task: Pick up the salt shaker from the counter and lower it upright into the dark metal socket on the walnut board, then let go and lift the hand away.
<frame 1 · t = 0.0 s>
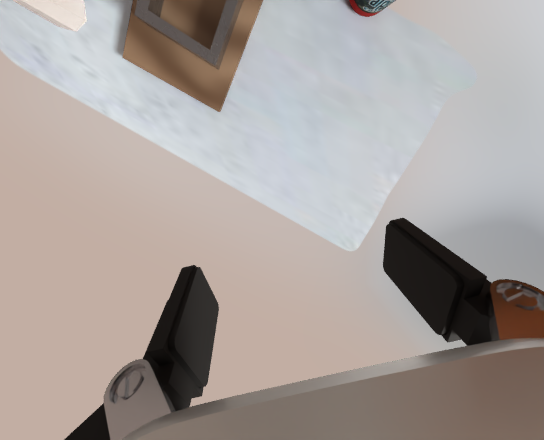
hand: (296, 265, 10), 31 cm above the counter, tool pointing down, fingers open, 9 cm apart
metal socket: (193, 0, 25), on the walnut board, point 3 cm above the counter
salt shaker: (65, 5, 27), on the counter
walnut board: (199, 11, 28), on the counter
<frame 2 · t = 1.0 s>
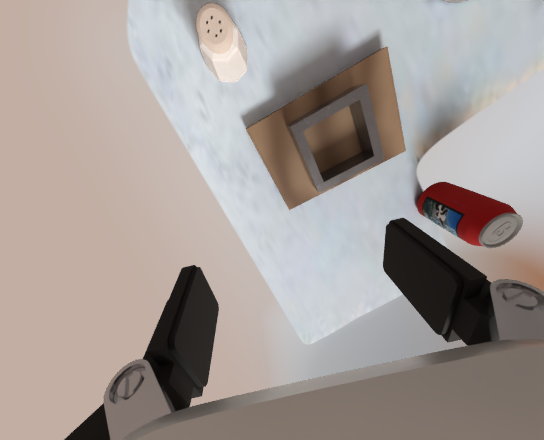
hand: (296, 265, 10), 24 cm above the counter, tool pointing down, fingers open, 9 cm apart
metal socket: (335, 142, 28), on the walnut board, point 3 cm above the counter
beverage can: (431, 197, 38), on the counter
salt shaker: (227, 58, 26), on the counter
walnut board: (327, 139, 31), on the counter
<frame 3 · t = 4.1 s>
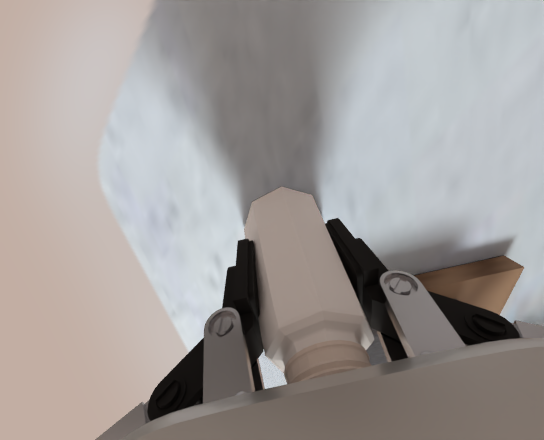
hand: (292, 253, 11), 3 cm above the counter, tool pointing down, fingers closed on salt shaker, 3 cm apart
metal socket: (405, 363, 18), on the walnut board, point 3 cm above the counter
salt shaker: (283, 221, 14), on the counter, touching gripper
walnut board: (384, 329, 21), on the counter
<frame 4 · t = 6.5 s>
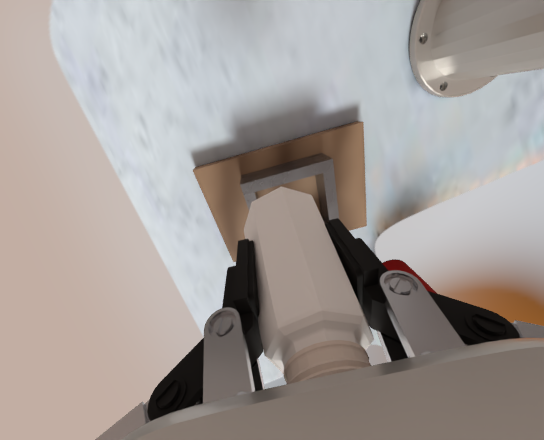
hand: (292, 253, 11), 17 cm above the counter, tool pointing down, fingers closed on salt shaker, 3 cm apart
metal socket: (292, 206, 25), on the walnut board, point 3 cm above the counter
beverage can: (385, 270, 37), on the counter
salt shaker: (282, 221, 14), point 13 cm above the counter, touching gripper
walnut board: (287, 197, 28), on the counter
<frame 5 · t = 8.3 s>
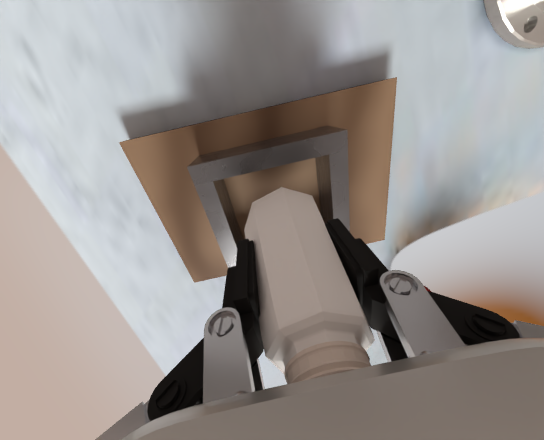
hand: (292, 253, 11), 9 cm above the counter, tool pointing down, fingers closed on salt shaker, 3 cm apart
metal socket: (278, 208, 16), on the walnut board, point 3 cm above the counter
salt shaker: (283, 222, 14), point 6 cm above the counter, touching gripper
walnut board: (274, 193, 19), on the counter
when the fingers open (6 cm above the counter, at t = 9.1 s): salt shaker drops 1 cm, resting on walnut board.
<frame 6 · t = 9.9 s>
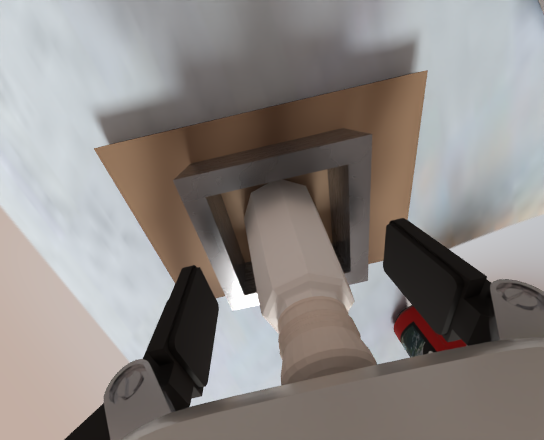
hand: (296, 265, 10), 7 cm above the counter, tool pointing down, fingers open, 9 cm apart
metal socket: (284, 225, 14), on the walnut board, point 3 cm above the counter
beverage can: (415, 314, 26), on the counter
salt shaker: (279, 211, 16), point 1 cm above the counter, touching walnut board
walnut board: (278, 205, 17), on the counter
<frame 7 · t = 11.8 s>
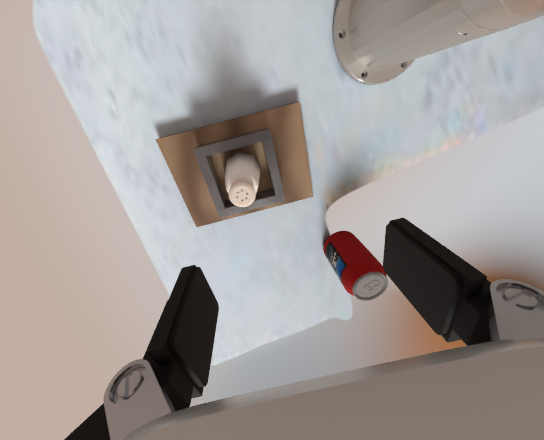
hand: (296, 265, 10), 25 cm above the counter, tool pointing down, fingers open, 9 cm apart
metal socket: (242, 173, 30), on the walnut board, point 3 cm above the counter
beverage can: (337, 242, 42), on the counter
salt shaker: (242, 170, 31), point 1 cm above the counter, touching walnut board
walnut board: (242, 168, 32), on the counter
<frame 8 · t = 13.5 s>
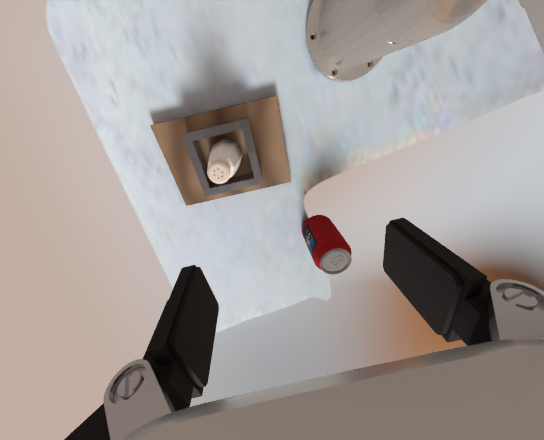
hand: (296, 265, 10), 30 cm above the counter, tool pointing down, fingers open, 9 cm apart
metal socket: (226, 158, 34), on the walnut board, point 3 cm above the counter
beverage can: (315, 226, 46), on the counter
salt shaker: (226, 155, 35), point 1 cm above the counter, touching walnut board
walnut board: (227, 154, 37), on the counter
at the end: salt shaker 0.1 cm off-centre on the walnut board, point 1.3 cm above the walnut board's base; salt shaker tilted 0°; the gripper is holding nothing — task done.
